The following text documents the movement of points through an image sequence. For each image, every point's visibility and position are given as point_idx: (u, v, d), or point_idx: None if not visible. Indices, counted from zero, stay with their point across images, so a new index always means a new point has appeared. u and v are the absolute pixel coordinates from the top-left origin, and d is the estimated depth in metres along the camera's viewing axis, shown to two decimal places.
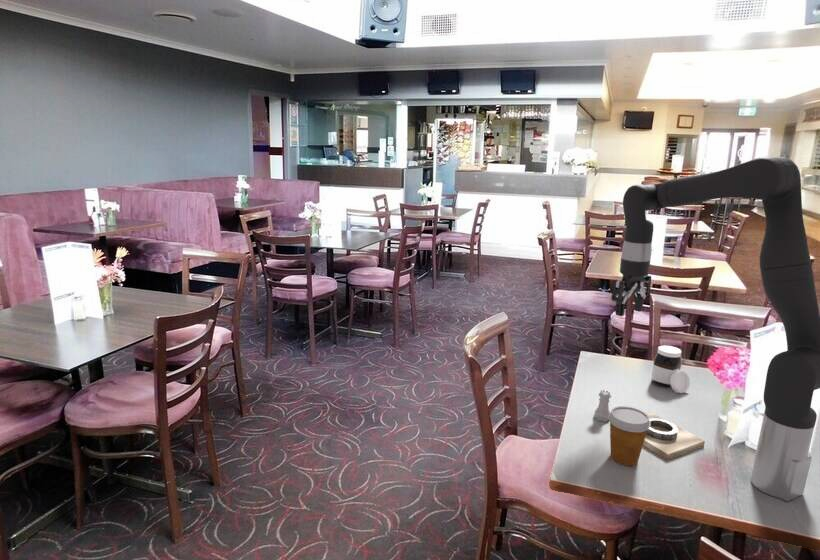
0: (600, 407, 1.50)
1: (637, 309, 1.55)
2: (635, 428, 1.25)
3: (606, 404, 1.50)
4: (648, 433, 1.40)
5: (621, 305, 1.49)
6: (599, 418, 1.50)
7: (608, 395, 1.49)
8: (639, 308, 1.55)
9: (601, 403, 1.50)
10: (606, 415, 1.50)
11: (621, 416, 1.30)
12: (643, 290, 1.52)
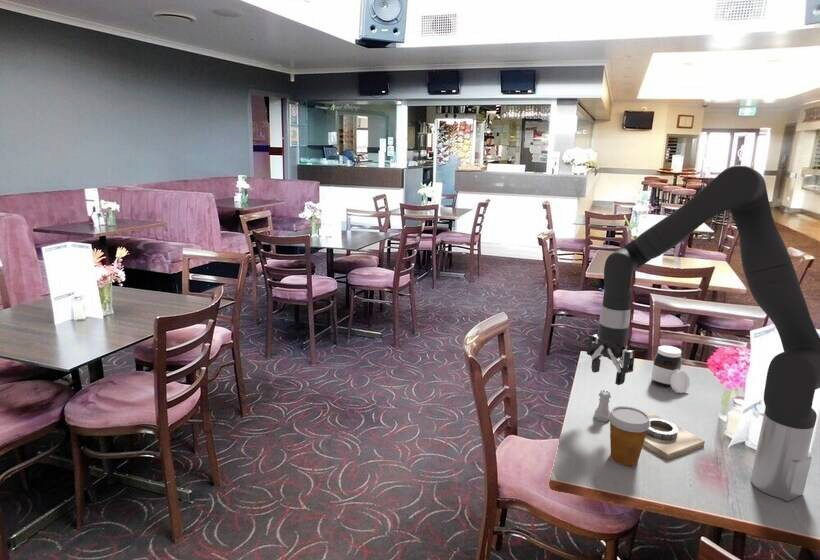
0: (600, 407, 1.50)
1: (596, 370, 1.52)
2: (635, 428, 1.25)
3: (606, 404, 1.50)
4: (648, 433, 1.40)
5: None
6: (599, 418, 1.50)
7: (608, 395, 1.49)
8: (598, 368, 1.52)
9: (601, 403, 1.50)
10: (606, 415, 1.50)
11: (621, 416, 1.30)
12: None
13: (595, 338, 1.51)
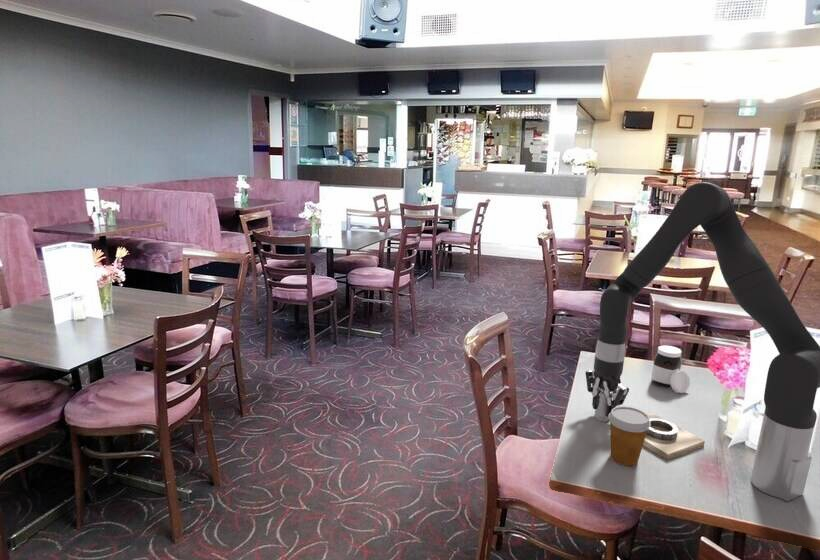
0: (600, 407, 1.50)
1: (597, 407, 1.53)
2: (635, 428, 1.25)
3: (606, 404, 1.50)
4: (648, 433, 1.40)
5: None
6: (599, 418, 1.50)
7: None
8: None
9: (601, 403, 1.50)
10: None
11: (621, 416, 1.30)
12: None
13: (591, 373, 1.53)
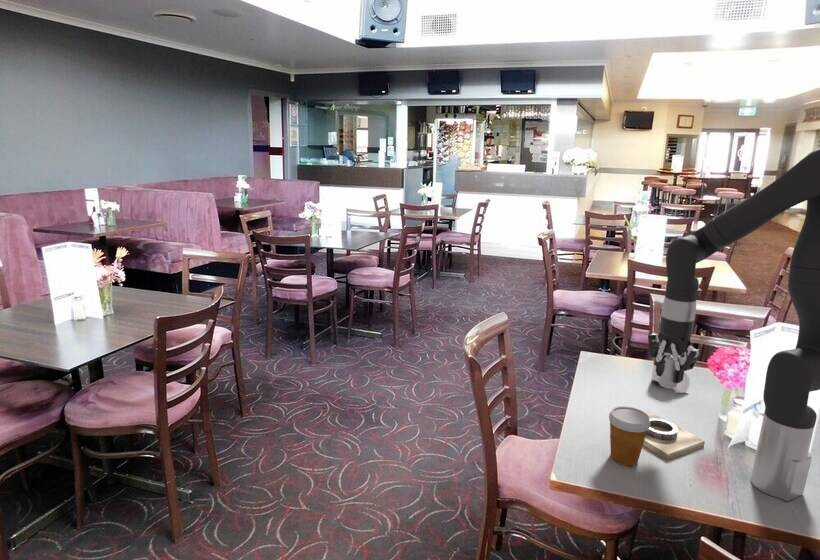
0: (666, 373, 1.37)
1: (661, 374, 1.40)
2: (635, 428, 1.25)
3: (673, 369, 1.36)
4: (648, 433, 1.40)
5: None
6: (665, 385, 1.37)
7: None
8: None
9: (667, 368, 1.37)
10: None
11: (621, 416, 1.30)
12: None
13: (655, 336, 1.40)
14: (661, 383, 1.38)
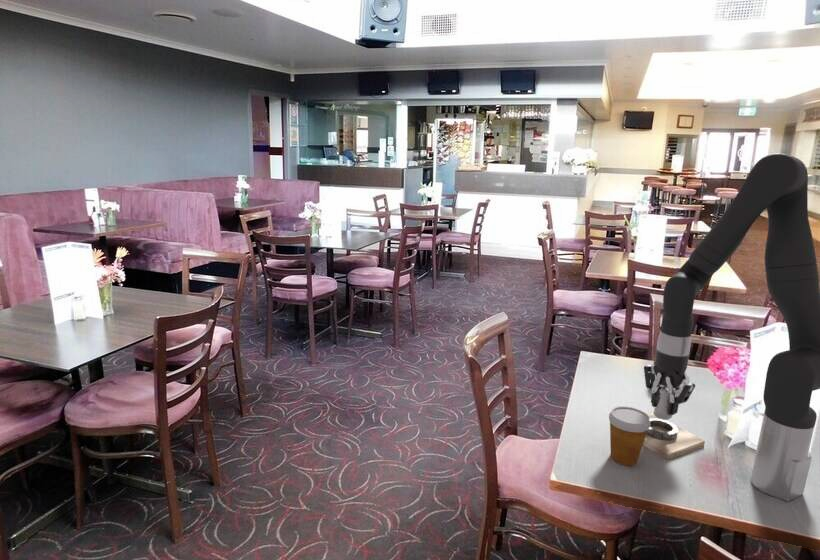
0: (661, 404, 1.40)
1: (656, 405, 1.43)
2: (635, 428, 1.25)
3: (668, 401, 1.39)
4: (648, 433, 1.40)
5: None
6: (660, 416, 1.40)
7: None
8: None
9: (662, 400, 1.39)
10: None
11: (621, 416, 1.30)
12: None
13: (650, 367, 1.43)
14: (656, 414, 1.41)
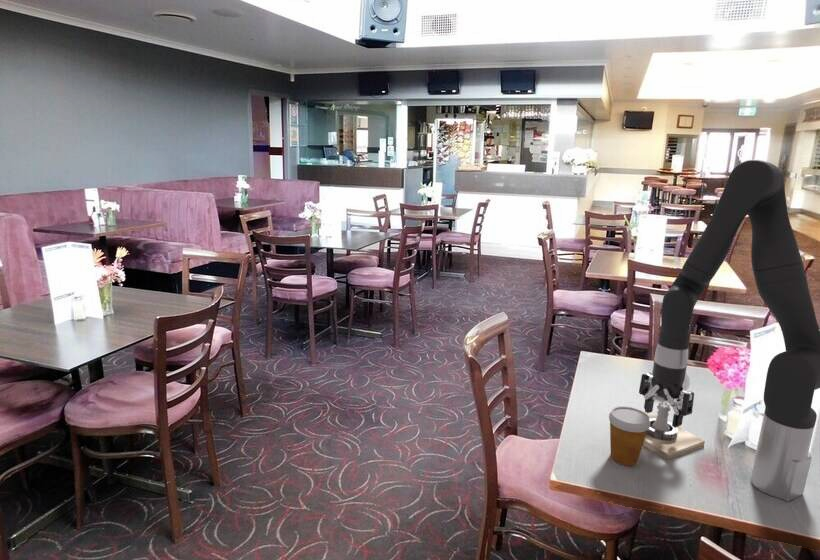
0: (659, 421, 1.41)
1: (649, 410, 1.44)
2: (635, 428, 1.25)
3: (665, 417, 1.40)
4: (648, 433, 1.40)
5: None
6: None
7: (668, 408, 1.39)
8: (651, 408, 1.45)
9: (660, 416, 1.40)
10: (666, 429, 1.40)
11: (621, 416, 1.30)
12: None
13: (648, 377, 1.43)
14: None
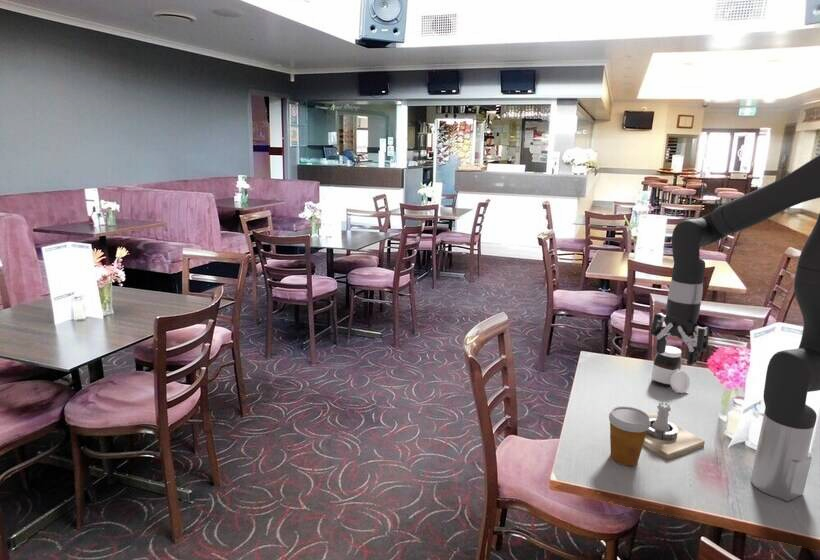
0: (659, 421, 1.41)
1: (662, 351, 1.42)
2: (635, 428, 1.25)
3: (665, 417, 1.40)
4: (648, 433, 1.40)
5: None
6: None
7: (668, 408, 1.39)
8: (664, 349, 1.42)
9: (660, 416, 1.40)
10: (666, 429, 1.40)
11: (621, 416, 1.30)
12: None
13: (661, 316, 1.41)
14: None
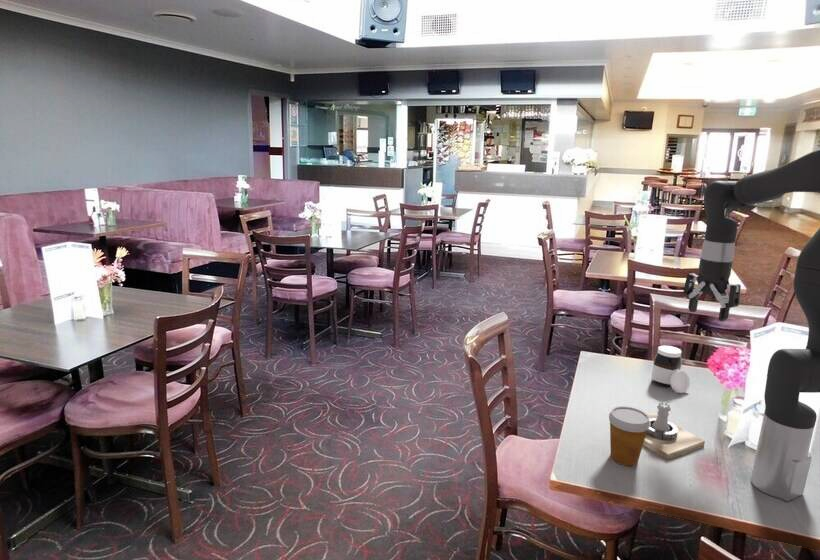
0: (659, 421, 1.41)
1: (694, 310, 1.50)
2: (635, 428, 1.25)
3: (665, 417, 1.40)
4: (648, 433, 1.40)
5: None
6: None
7: (668, 408, 1.39)
8: (695, 308, 1.50)
9: (660, 416, 1.40)
10: (666, 429, 1.40)
11: (621, 416, 1.30)
12: None
13: (693, 276, 1.48)
14: None
